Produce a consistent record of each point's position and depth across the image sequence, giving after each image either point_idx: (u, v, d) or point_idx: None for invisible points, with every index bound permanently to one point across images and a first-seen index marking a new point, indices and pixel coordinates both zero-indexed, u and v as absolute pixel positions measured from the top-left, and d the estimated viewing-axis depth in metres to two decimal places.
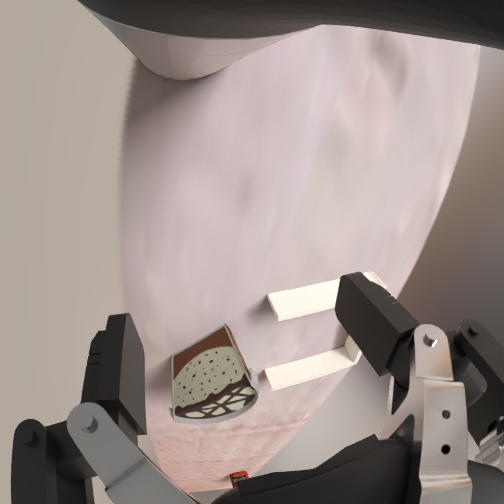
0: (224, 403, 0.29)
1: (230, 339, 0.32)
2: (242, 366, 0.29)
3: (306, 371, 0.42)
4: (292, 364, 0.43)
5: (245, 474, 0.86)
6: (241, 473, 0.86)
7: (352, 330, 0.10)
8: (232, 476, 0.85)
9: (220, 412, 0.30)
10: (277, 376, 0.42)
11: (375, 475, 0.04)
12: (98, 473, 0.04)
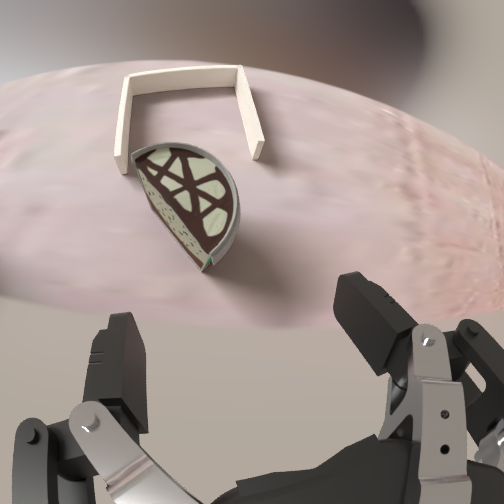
0: (187, 181, 0.22)
1: (147, 198, 0.28)
2: (138, 173, 0.24)
3: (246, 111, 0.34)
4: (246, 130, 0.35)
5: None
6: None
7: (350, 330, 0.10)
8: None
9: (217, 187, 0.22)
10: (252, 141, 0.33)
11: (374, 476, 0.04)
12: (100, 472, 0.04)
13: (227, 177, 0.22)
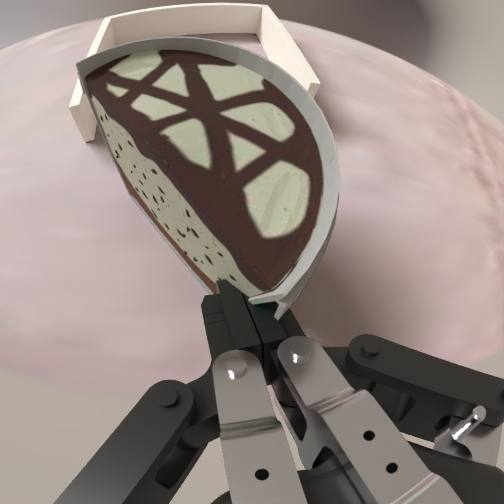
0: (197, 102, 0.08)
1: (118, 169, 0.14)
2: (94, 111, 0.10)
3: (281, 51, 0.20)
4: None
5: None
6: None
7: None
8: None
9: (272, 116, 0.08)
10: None
11: None
12: (220, 415, 0.05)
13: (295, 97, 0.08)
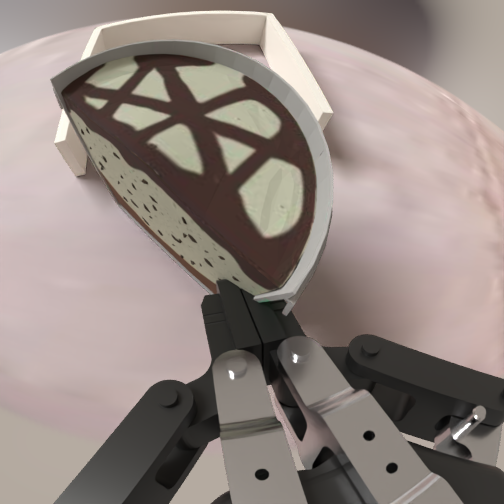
0: (180, 107, 0.08)
1: (103, 180, 0.13)
2: (73, 125, 0.09)
3: (289, 69, 0.19)
4: None
5: None
6: None
7: None
8: None
9: (257, 113, 0.08)
10: None
11: None
12: (220, 415, 0.05)
13: (278, 92, 0.08)
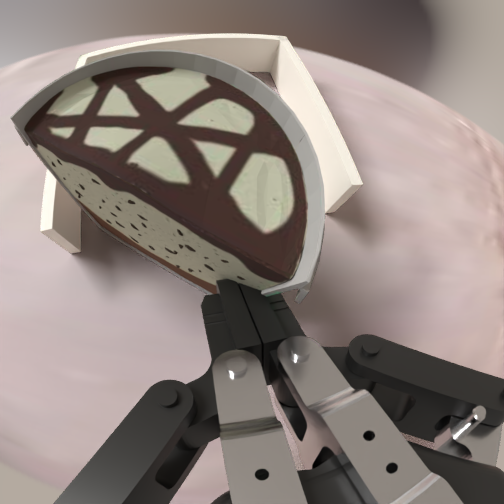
0: (150, 119, 0.08)
1: (82, 207, 0.13)
2: (43, 159, 0.09)
3: (309, 116, 0.17)
4: None
5: None
6: None
7: None
8: None
9: (228, 110, 0.08)
10: (329, 179, 0.17)
11: None
12: (220, 415, 0.05)
13: (245, 86, 0.08)
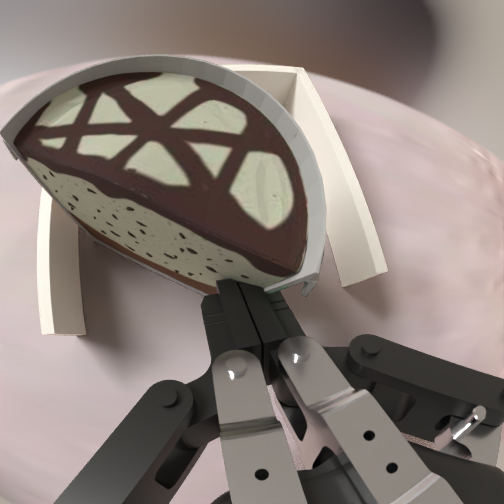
0: (143, 124, 0.07)
1: (74, 220, 0.12)
2: (33, 173, 0.08)
3: (331, 177, 0.16)
4: None
5: None
6: None
7: None
8: None
9: (220, 111, 0.08)
10: (350, 256, 0.16)
11: None
12: (220, 415, 0.05)
13: (234, 86, 0.08)
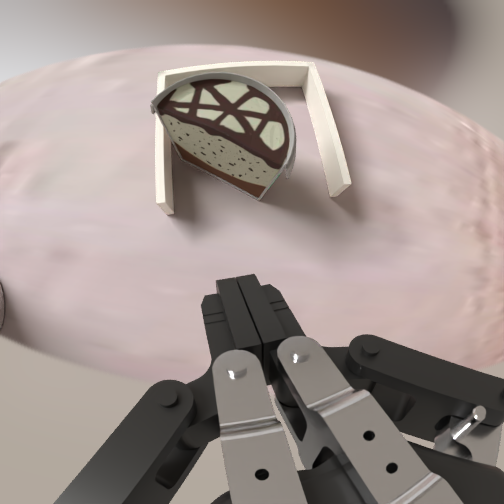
0: (225, 107, 0.19)
1: (175, 147, 0.25)
2: (162, 121, 0.20)
3: (324, 131, 0.26)
4: (322, 155, 0.28)
5: None
6: None
7: None
8: None
9: (258, 103, 0.19)
10: (333, 176, 0.26)
11: None
12: (220, 415, 0.05)
13: (265, 91, 0.19)
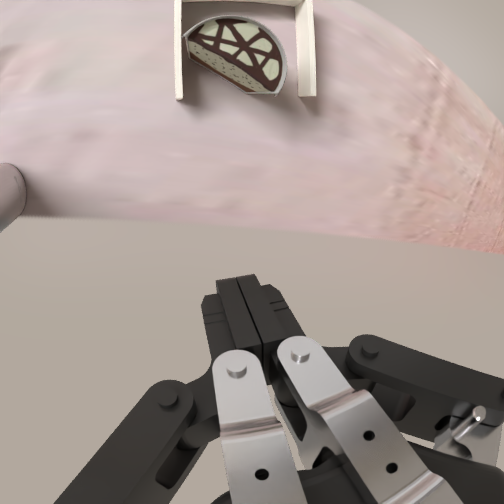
0: (240, 44, 0.22)
1: (188, 53, 0.26)
2: (187, 43, 0.22)
3: (305, 52, 0.29)
4: (298, 66, 0.32)
5: None
6: None
7: None
8: None
9: (264, 43, 0.22)
10: (303, 85, 0.32)
11: None
12: (220, 415, 0.05)
13: (271, 35, 0.22)
